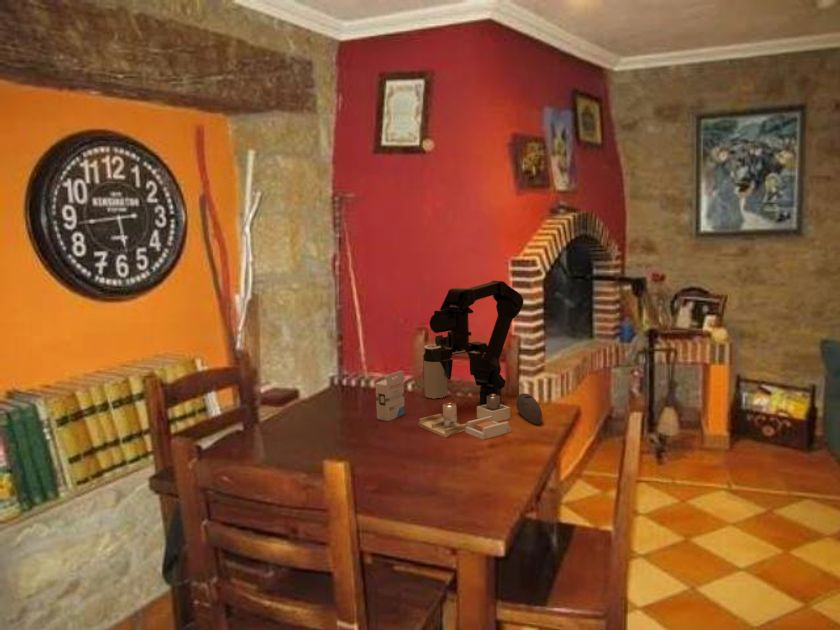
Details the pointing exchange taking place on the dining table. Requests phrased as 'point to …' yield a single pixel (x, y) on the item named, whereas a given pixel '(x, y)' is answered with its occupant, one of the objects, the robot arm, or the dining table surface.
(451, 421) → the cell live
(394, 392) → the ink box
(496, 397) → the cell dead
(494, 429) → the cradle
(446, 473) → the dining table surface
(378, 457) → the dining table surface
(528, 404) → the perforated stone tool
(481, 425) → the pad
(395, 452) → the dining table surface
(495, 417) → the bin
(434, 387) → the travel mug
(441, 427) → the troughs
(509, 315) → the robot arm
